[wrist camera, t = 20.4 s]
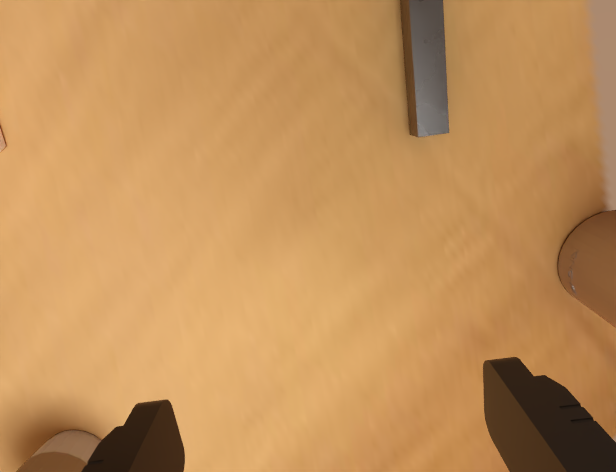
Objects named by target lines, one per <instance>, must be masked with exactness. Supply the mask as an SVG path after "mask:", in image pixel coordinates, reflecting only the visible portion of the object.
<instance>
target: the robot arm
mask: <svg viewBox="0 0 616 472" xmlns="http://www.w3.org/2000/svg"><path fill="white" fill-rule="evenodd" d="M558 271H559V277H560V279H561V282H562V284H563V286H564V287H565V289H566V290H567V291H568V292H569V293H570V294H571V295H572V296H573V297H575V298H576V299H577V300H579V301H580V302H581V303H583V304H584V305H586V306H587V307H588V308H590V309H591V310H593V311H594V312H595V313H597V314H598V315H599V316H600V317H602V318H603V319H605V320H606V321H607V322H609V323H610V324H612V325H613V326H614V327H616V210H612V211H606V212H603V213H600V214H597V215H595V216H593V217H591V218H589V219H587V220H585V221H584V222H583V223H582V224H580V225H579V226H578V227H576V229H575V230H574V231H573V232H572V233H571V234H570V235H569V237H568V238H567V240H566V242H565V243H564V245H563V247H562V250H561V252H560V255H559V262H558ZM483 382H484V413H485V420H486V424H487V428H488V431H489V434H490V436H491V438H492V440H493V442H494V444H495V446H496V448H497V449H498V451H499V453H500V455H501V457H502V458H503V460H504V462H505V464H506V466H507V468H508V469H509V471H510V472H616V442H615V441H614V440H613V439H612V438H611V437H610V436H609V435H608V434H607V433H606V432H605V430H604V429H603V428H602V427H601V426H600V425H599V424H598V423H597V422H596V421H594V420H593V417H592V416H591V415H590V414H589V413H588V412H587V411H586V410H585V408H584V407H581V405H580V403H579V402H578V401H577V400H576V399H575V397H574V396H573V395H572V394H571V393H570V392H569V391H568V390H567V389H566V388H565V387H564V386H562V385H560V384H559V383H557V382H555V381H554V380H552V379H550V378H548V377H547V376H545V375H542V376H533V375H532V374H531V372H530V371H529V370H528V369H527V368H526V366H525V365H524V364H523V363H522V362H521V360H520V359H519V358H517V357H511V358H503V359H495V360H487V361H485V362H484V364H483ZM184 463H185V454H184V447H183V443H182V440H181V436H180V433H179V429H178V426H177V422H176V419H175V415H174V412H173V408H172V405H171V403H170V401H169V400H159V401H151V402H143V403H138V404H136V405H135V407H134V408H133V410H132V412H131V413H130V415H129V417H128V419H127V420H126V422H125V424H124V426H119V427H116V428H114V429H113V430H112V431H111V432H110V433H109V434H108V435H107V436H106V437H105V438H104V439H103V440H102V441H101V442H100V443H99V444H98V445H97V447H96V449H95V450H94V452H93V453H92V455H91V457H90V458H89V460H88V464H87V465H85V467H84V468H83V470H82V471H81V472H183V471H184Z"/></svg>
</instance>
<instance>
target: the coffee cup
mask: <svg viewBox="0 0 616 472" xmlns="http://www.w3.org/2000/svg"><path fill="white" fill-rule="evenodd" d="M100 442H101V440H100V439H99V438H97V437H96V436H94V435H92V434H90V433H87V432H85V431H78V430H70V431H63V432H61V433H59V434H56V435H55V436H54V437H53V438H51V439H49V440H48V441H47V442H46V443H44V444H43V445H42V446H41V447H40V448H39V449H38V450H37V451H36V452H35V453H34V454H33V455H32V456H31V457H30V458H29V459H28V460H27V461H26V462H25V463H24V464H23V465H22V466H21V467H20V468H19V469H18V470H17V471H16V472H81V471H82V470H83V468H84V467H85V465H87V464H88V460H89V458H90V457H91V455H92V453H93V452H94V450H95V449H96V447H97V445H98V444H99V443H100Z"/></svg>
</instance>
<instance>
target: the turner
mask: <svg viewBox="0 0 616 472" xmlns="http://www.w3.org/2000/svg"><path fill="white" fill-rule="evenodd" d="M400 8H401V22H402V35H403V49H404V63H405V76H406V90H407V104H408V117H409V131H410V135H413V136H416V137H423V136H430V135H437V134H444V133H449V120H448V99H447V77H446V56H445V35H444V13H443V0H400Z"/></svg>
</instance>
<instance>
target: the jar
mask: <svg viewBox="0 0 616 472" xmlns="http://www.w3.org/2000/svg"><path fill="white" fill-rule="evenodd" d="M5 147H6V144H5V141H4V138H3V135H2V132H1V129H0V152H1V151H2V150H3V149H4V148H5Z"/></svg>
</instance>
